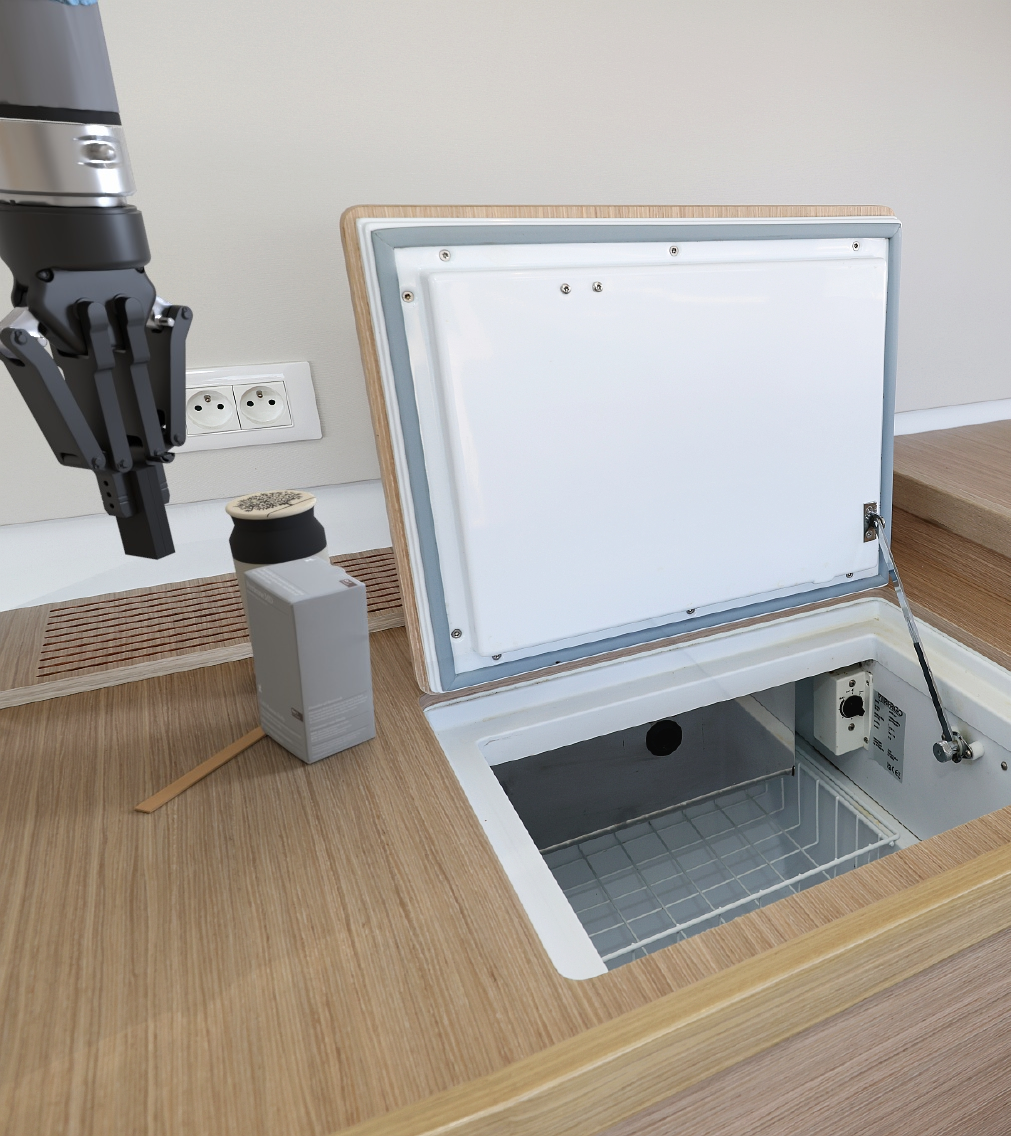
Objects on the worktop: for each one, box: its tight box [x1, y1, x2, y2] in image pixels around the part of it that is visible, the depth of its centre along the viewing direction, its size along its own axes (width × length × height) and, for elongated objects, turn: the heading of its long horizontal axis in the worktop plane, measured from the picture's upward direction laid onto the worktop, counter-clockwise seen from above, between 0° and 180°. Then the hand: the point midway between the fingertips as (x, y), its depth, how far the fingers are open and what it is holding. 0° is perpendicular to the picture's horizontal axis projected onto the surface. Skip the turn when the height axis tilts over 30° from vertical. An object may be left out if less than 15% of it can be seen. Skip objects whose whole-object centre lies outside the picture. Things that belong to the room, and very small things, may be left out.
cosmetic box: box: [243, 556, 377, 765], centre depth 83 cm, size 8×7×16 cm
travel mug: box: [224, 489, 331, 651], centre depth 93 cm, size 8×8×18 cm
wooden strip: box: [133, 724, 268, 814], centre depth 83 cm, size 2×18×1 cm, turn 167°
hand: (150, 553), depth 67 cm, fingers closed
